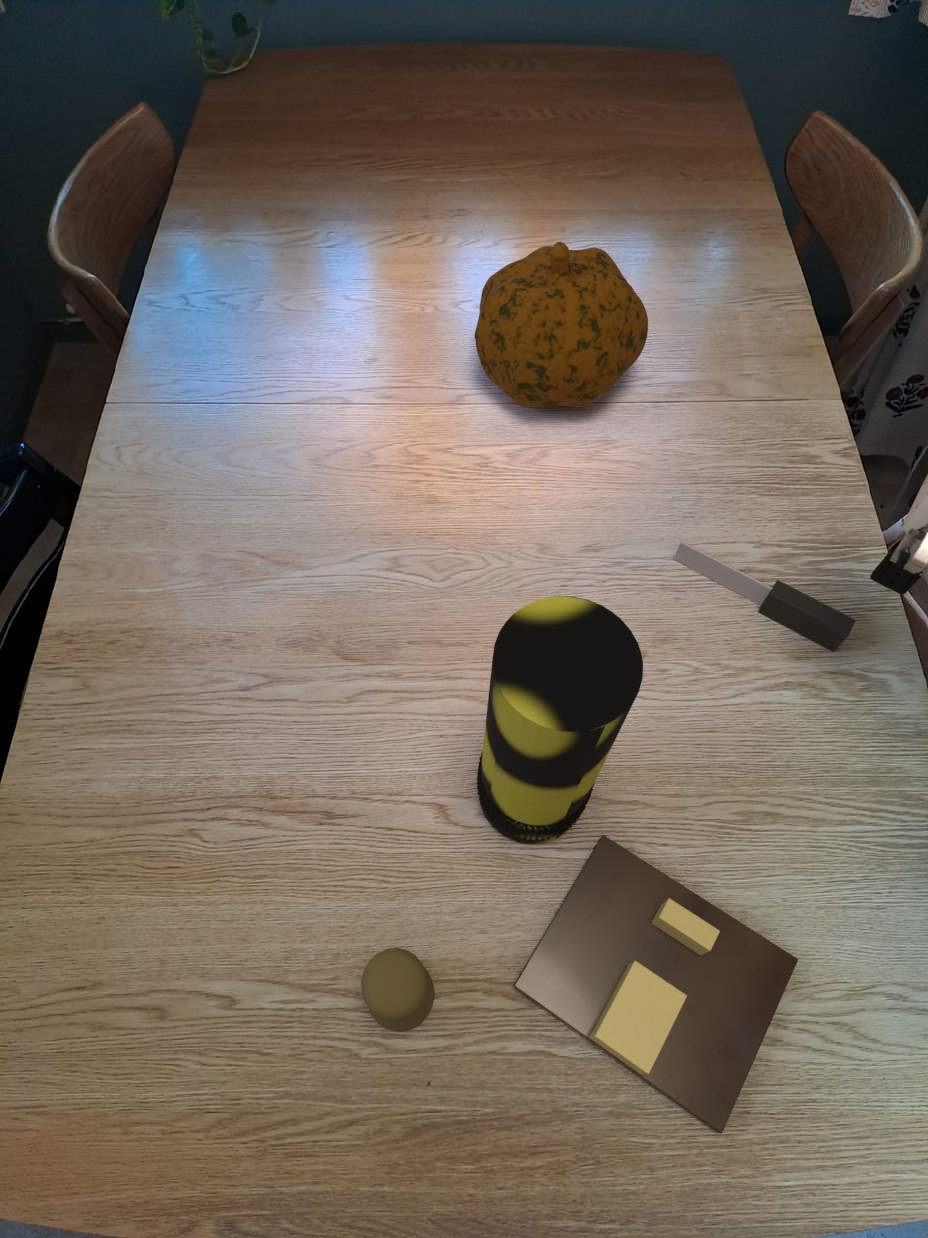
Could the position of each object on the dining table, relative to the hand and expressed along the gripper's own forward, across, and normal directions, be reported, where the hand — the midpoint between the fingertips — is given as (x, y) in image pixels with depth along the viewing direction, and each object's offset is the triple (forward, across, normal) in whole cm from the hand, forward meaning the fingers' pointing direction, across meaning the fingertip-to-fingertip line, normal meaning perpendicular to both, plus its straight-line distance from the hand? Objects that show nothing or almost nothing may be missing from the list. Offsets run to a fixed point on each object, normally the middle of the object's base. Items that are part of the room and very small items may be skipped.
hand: (905, 546), depth 76 cm
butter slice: (+17, -37, 0) cm, 40 cm away
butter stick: (+17, -45, 0) cm, 48 cm away
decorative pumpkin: (+18, +17, +45) cm, 52 cm away
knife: (+18, 0, +8) cm, 20 cm away
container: (+18, -33, +18) cm, 42 cm away
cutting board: (+18, -41, 0) cm, 45 cm away
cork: (+18, -55, +18) cm, 61 cm away
